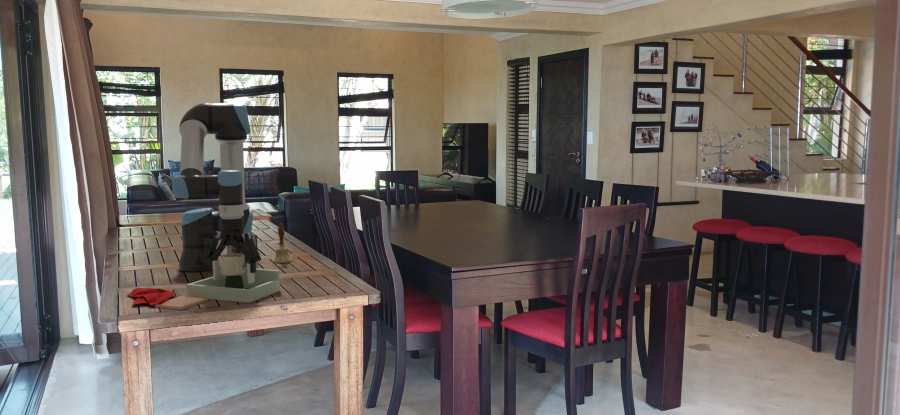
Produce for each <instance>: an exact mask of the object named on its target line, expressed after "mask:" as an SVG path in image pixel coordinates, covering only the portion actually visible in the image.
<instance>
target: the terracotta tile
mask: <svg viewBox="0 0 900 415" xmlns="http://www.w3.org/2000/svg"><path fill="white" fill-rule="evenodd" d="M208 301H209V299H208V298H202V297H192V296H187V295H180V296H177V297H174V298H171V299H170V298H169V299H167V300H165V301H164V302H162V303H159V304H156V305H154V307H155V308H161V309H168V310H169V309H172V310H179V311H183V310H185V309H188V308H191V307H194V306H197V305H200V304H202V303H205V302H208Z"/></svg>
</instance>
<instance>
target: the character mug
mask: <svg viewBox="0 0 900 415" xmlns="http://www.w3.org/2000/svg"><path fill="white" fill-rule="evenodd" d="M221 266H222V272H223V275H226V276H227V277H226V279H225V286H224V287H228V288H238V289H245V288H244V285H243V280H242V277H241V274H243V273H245V262H244V255H243V254H239V253H233V254H227V253H226V254H222V255H221Z"/></svg>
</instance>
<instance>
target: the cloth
mask: <svg viewBox="0 0 900 415" xmlns="http://www.w3.org/2000/svg"><path fill="white" fill-rule="evenodd" d="M175 294H176V292H175V291H174V290H173V291H172V290H171V291H170V290H168V289H167V290H166V289H163V288H158V287H157V288H153V287H145V288H144V287H136V288H133V289H132V291H131V292H130V293H129V294H126V296H127V297H132V298H136V299H135V300H134V301H133V302H132V305H134V306H136V305H139V304H149V305H150V306H155V305H156V304H159V303H162V302H164V301H167V300H170V298H172V297H173V296H175Z"/></svg>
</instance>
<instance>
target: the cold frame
mask: <svg viewBox="0 0 900 415" xmlns="http://www.w3.org/2000/svg"><path fill="white" fill-rule="evenodd" d="M280 272H281V271H280V270H279V269H278V270H277V269H267V268H266V269H265V268H258V269H256V272H255V273H254V275H255V282H253V283H250V284H249V283H248V277H247V268H245V273H243V274H241V277H242V280H243V285H244V289H238V288H228V287H225V279H226V277H227V276H226V275H223V272H222V265H220V275H221V279H218V280H213V276H211V277H207V278H204V279H200V280H197V281H194V282H191V283H187V284H186V296H192V297H202V298H208V300H218V301H226V302H237V303H246V304H247V303H248V304H249V303H252V302H255V301H257V300H259V299H262V298H263V299H264V298H265V297H268V296H270V295H273V294H275V293H277V292H280V291H281V277H280V276H281V275H280ZM246 288H247V289H246Z"/></svg>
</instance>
